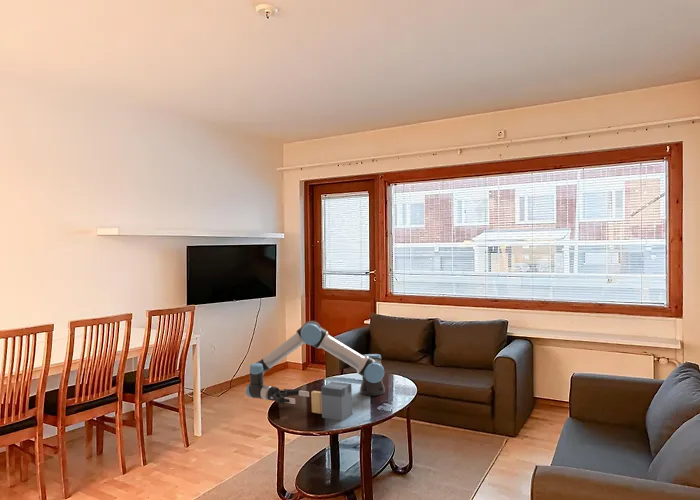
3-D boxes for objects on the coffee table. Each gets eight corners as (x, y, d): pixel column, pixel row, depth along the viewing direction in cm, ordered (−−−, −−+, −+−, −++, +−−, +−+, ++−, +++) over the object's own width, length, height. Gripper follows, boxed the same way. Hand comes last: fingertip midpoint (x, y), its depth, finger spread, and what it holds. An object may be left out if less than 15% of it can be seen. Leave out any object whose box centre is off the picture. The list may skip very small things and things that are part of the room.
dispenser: (321, 417, 261) (320, 386, 261) (331, 410, 271) (330, 381, 270) (342, 420, 255) (341, 389, 255) (352, 414, 265) (351, 383, 265)
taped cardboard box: (311, 412, 268) (311, 391, 268) (314, 410, 271) (313, 390, 271) (336, 416, 261) (335, 395, 261) (338, 414, 264) (337, 393, 264)
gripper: (283, 393, 294) (314, 398, 284) (256, 406, 272) (289, 411, 262) (283, 381, 294) (313, 385, 284) (256, 392, 272) (288, 397, 262)
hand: (302, 397), depth 273 cm, fingers open, 13 cm apart
